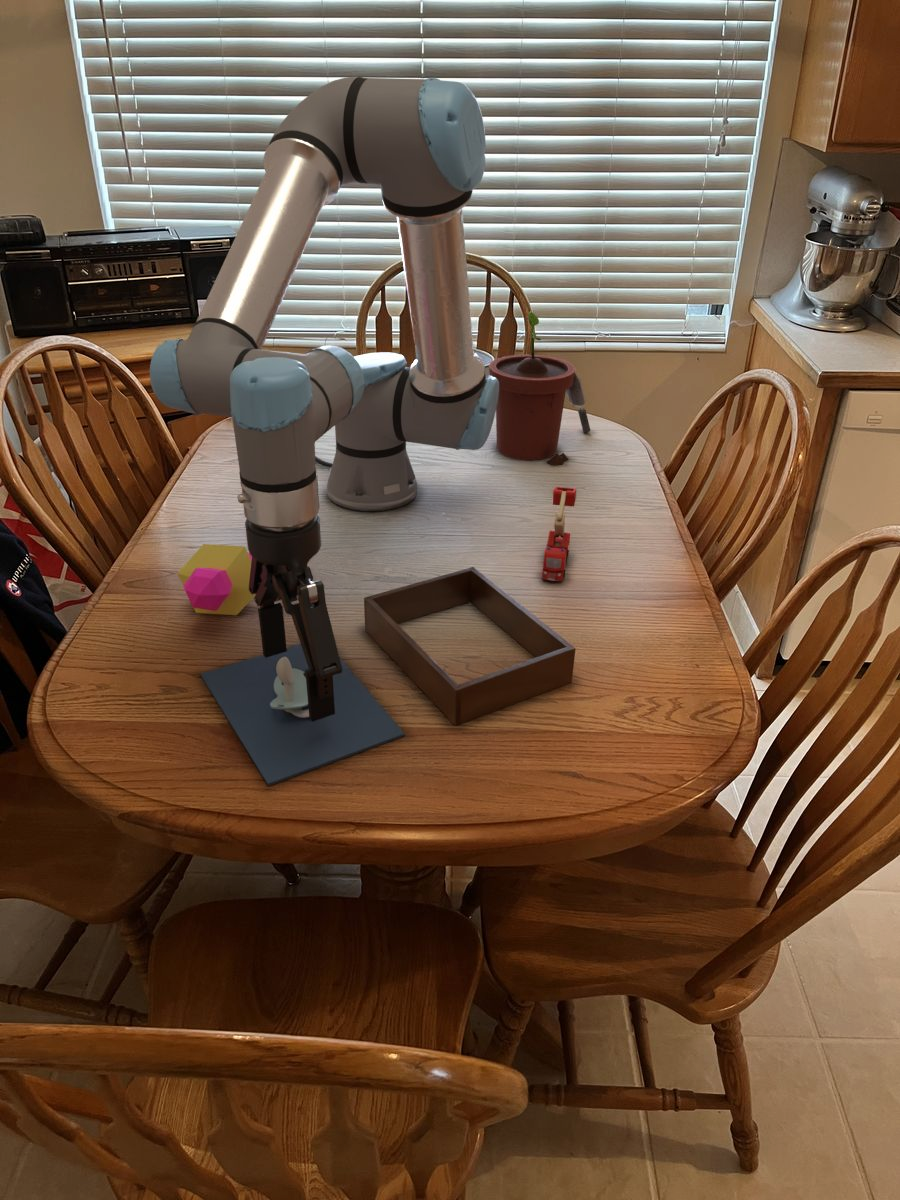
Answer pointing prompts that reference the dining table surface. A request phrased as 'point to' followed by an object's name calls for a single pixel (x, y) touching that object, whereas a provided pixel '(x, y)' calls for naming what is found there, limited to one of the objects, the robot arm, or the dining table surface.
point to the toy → (218, 579)
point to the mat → (296, 718)
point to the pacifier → (290, 689)
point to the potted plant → (534, 403)
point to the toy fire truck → (558, 547)
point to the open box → (507, 613)
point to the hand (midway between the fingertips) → (297, 683)
